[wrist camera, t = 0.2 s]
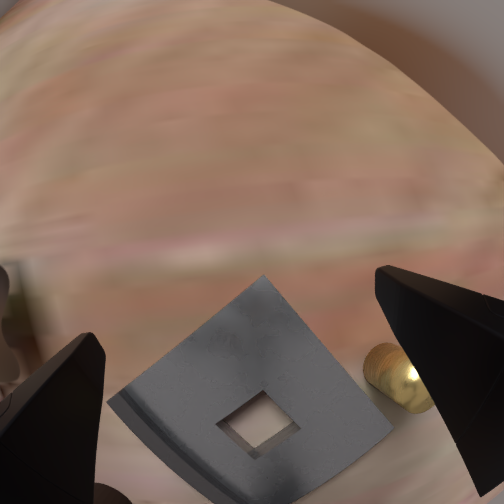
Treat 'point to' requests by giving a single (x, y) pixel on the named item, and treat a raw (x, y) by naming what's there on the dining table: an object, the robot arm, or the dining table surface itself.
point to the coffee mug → (108, 495)
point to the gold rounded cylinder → (396, 378)
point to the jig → (242, 390)
